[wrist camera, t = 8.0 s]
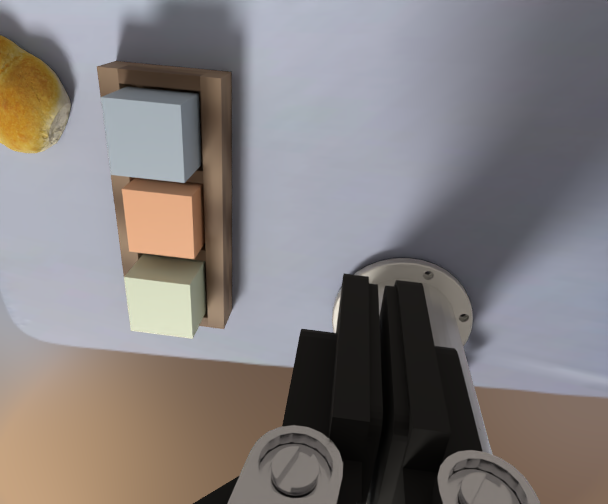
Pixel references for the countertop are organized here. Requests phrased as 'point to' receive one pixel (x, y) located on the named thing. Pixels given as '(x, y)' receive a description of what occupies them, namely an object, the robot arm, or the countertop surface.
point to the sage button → (166, 295)
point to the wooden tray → (210, 173)
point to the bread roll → (29, 101)
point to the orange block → (164, 217)
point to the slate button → (152, 133)
